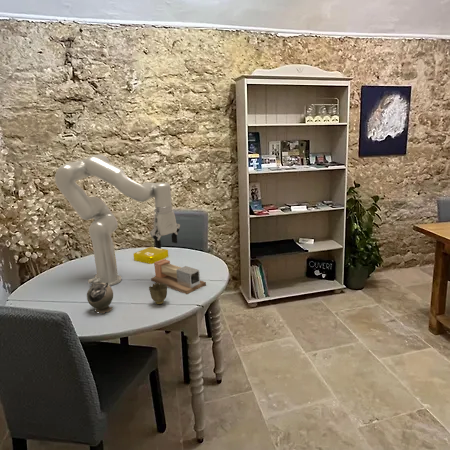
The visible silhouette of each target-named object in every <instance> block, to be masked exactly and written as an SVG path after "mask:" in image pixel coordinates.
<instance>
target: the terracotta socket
mask: <svg viewBox="0 0 450 450" xmlns="http://www.w3.org/2000/svg"><path fill="white" fill-rule="evenodd" d="M166 263H169V264H171V261H170V260H168V259H167V258H165V259H162V260H160V261H157V262H154V263H153V264H154V274H155V276H156V277H159V278H162V277H165V276H167V275H165V274H162V270H161V265H163V264H166Z"/></svg>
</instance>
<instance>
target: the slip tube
mask: <svg viewBox="0 0 450 450" xmlns="http://www.w3.org/2000/svg"><path fill="white" fill-rule="evenodd" d="M182 267H183V266H182ZM182 267H181V266H177V265H174V264H172V263H170V264H169V263H166V264H163V265H161V270H162V274H165V275H168V276H171V277H174V278H177V271H176V270H177V269H179V268H182Z"/></svg>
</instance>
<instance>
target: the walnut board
mask: <svg viewBox="0 0 450 450" xmlns="http://www.w3.org/2000/svg"><path fill="white" fill-rule="evenodd" d="M150 281H151V282H152V283H154V284H156V283H158V284H160V283H161V284H162V283H165V284H167V288H169V289H171V290H174V291H177V292H180V293H182V294H185V295H189V294H190V293H192V292H194V291H197V290H199V289H201V288H203V287H205V286H207V282H206V281H203V280H201V279H200V285H197V286H195V287H193V288H188V287H185V286H183V285H180V284H178V282H177V278H174V277H171V276H168V275H167V276H165V277H162V278H159V277H156V275H155V276H152V277H151V278H150Z"/></svg>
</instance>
